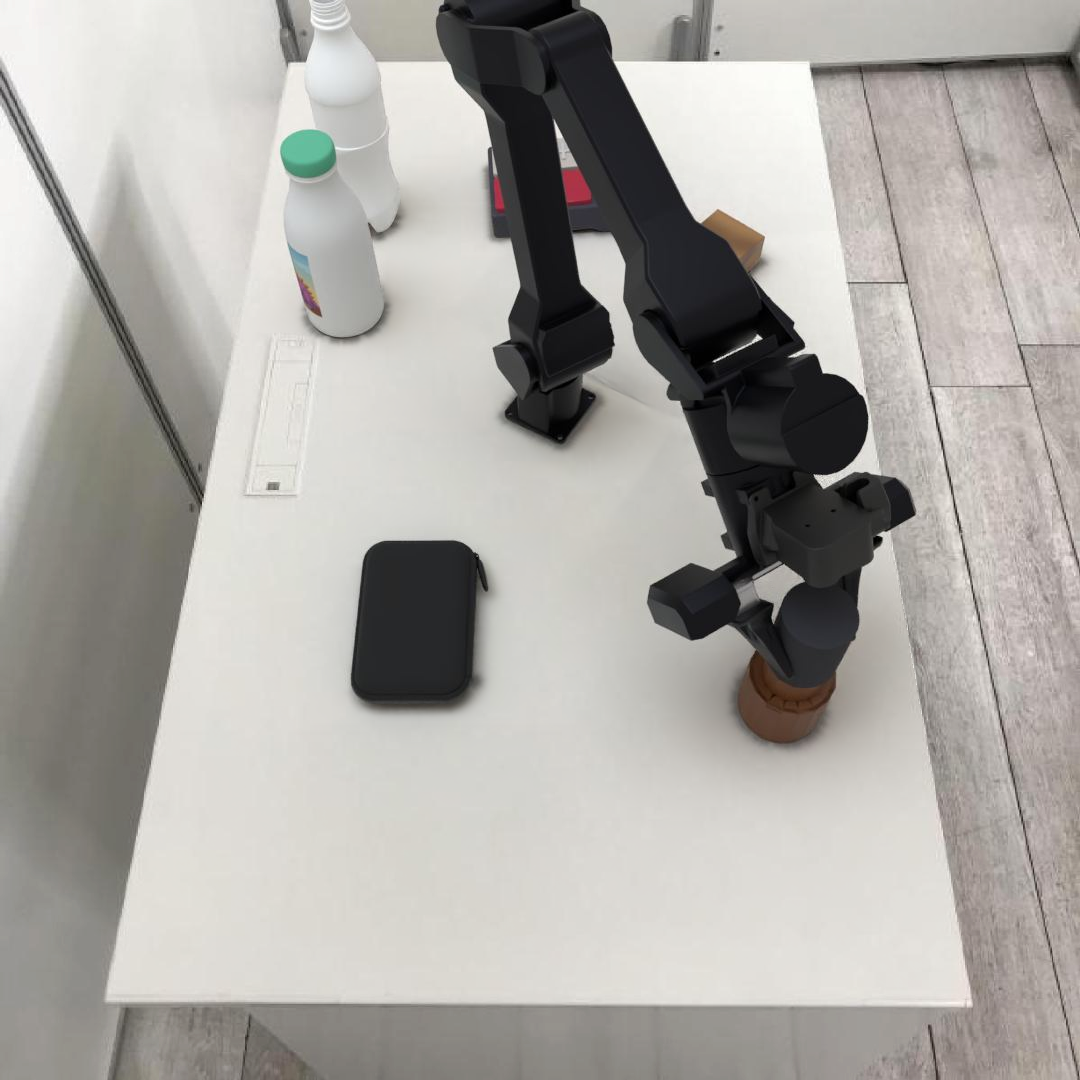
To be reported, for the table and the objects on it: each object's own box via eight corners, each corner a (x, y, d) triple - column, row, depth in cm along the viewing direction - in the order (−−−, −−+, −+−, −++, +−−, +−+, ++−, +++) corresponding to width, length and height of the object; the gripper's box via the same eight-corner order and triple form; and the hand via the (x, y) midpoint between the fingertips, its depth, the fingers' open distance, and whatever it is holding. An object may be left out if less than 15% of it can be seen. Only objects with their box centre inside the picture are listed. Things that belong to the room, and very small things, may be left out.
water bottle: (393, 245, 112) (353, 23, 90) (327, 236, 113) (273, 14, 91) (411, 199, 115) (377, -26, 94) (347, 191, 116) (299, -34, 95)
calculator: (486, 140, 115) (625, 126, 114) (490, 172, 118) (625, 159, 118) (490, 211, 109) (637, 196, 109) (494, 242, 113) (636, 229, 112)
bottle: (798, 758, 82) (821, 716, 75) (723, 717, 84) (739, 672, 77) (832, 692, 85) (857, 646, 78) (759, 654, 87) (777, 605, 80)
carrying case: (485, 709, 85) (490, 550, 92) (483, 694, 82) (488, 531, 90) (351, 710, 85) (367, 551, 92) (344, 695, 82) (362, 532, 90)
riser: (724, 293, 107) (728, 268, 104) (677, 265, 110) (680, 239, 107) (759, 262, 110) (765, 236, 107) (713, 234, 112) (717, 208, 109)
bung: (746, 661, 78) (764, 611, 71) (793, 618, 80) (815, 565, 73) (801, 710, 76) (825, 664, 69) (848, 665, 78) (876, 615, 71)
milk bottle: (391, 285, 109) (359, 117, 92) (377, 342, 105) (342, 178, 88) (317, 280, 109) (271, 112, 92) (301, 337, 105) (250, 173, 88)
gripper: (689, 539, 60) (776, 766, 65) (941, 401, 65) (1005, 621, 69) (607, 513, 70) (687, 711, 75) (830, 396, 75) (892, 588, 80)
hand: (818, 658), depth 74 cm, fingers closed on bung, 5 cm apart
